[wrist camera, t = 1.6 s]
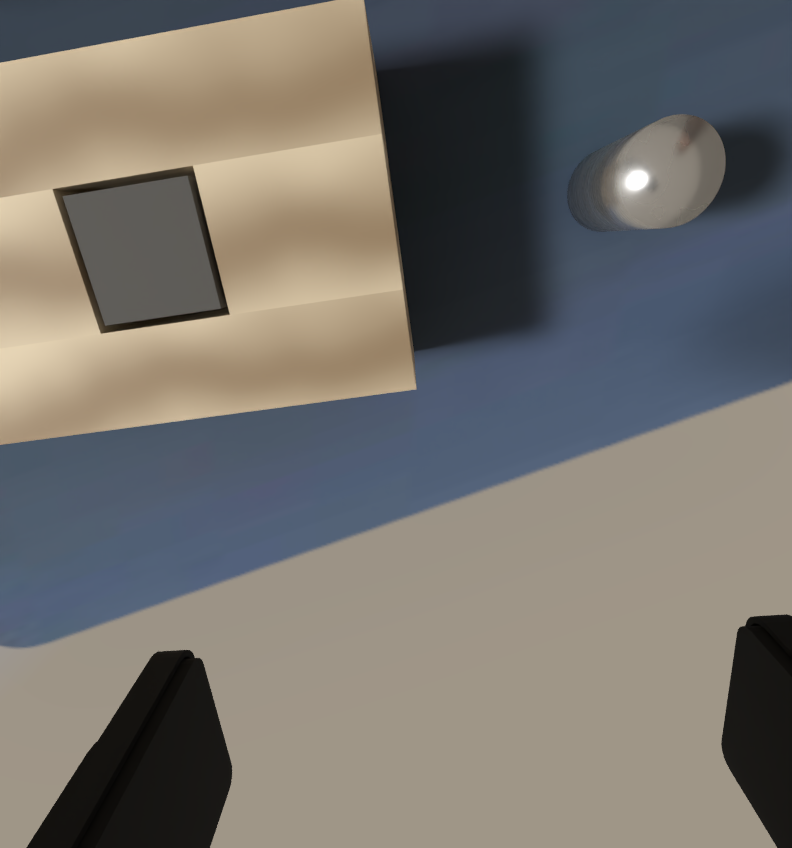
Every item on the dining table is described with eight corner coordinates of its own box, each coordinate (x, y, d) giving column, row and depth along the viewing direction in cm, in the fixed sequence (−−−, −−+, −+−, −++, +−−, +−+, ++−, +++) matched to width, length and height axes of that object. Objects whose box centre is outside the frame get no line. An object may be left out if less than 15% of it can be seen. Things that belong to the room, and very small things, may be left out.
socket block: (-8, 138, 26) (-176, 95, 19) (376, 70, 25) (363, -5, 17) (85, 397, 31) (-19, 447, 23) (413, 352, 29) (416, 389, 22)
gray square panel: (75, 198, 20) (62, 196, 20) (195, 177, 20) (187, 175, 19) (115, 322, 22) (105, 325, 21) (227, 306, 22) (220, 308, 21)
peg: (566, 154, 26) (620, 123, 19) (646, 141, 26) (729, 105, 19) (568, 237, 27) (620, 234, 21) (644, 225, 27) (722, 220, 20)
